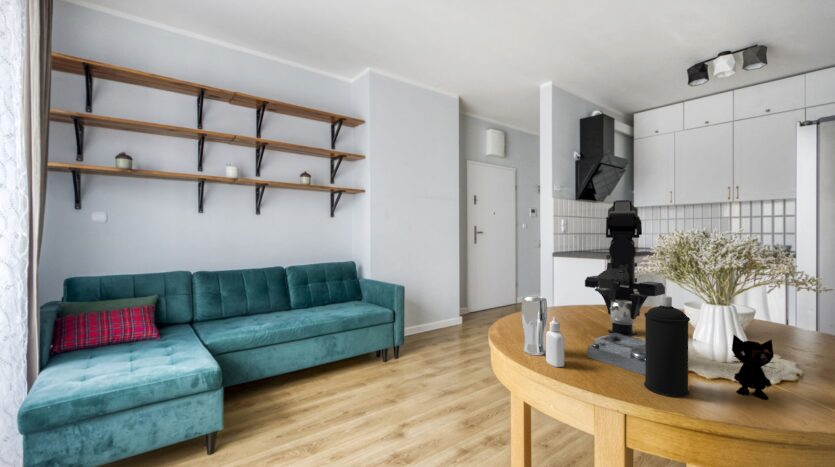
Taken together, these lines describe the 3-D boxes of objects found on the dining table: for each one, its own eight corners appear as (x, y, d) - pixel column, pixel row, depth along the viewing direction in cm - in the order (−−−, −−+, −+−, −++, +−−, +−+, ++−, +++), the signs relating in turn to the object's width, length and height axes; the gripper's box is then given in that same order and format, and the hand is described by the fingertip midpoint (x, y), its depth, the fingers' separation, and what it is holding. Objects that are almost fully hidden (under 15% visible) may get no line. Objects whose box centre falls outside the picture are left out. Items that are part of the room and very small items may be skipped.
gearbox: (616, 347, 109) (616, 332, 109) (678, 364, 95) (678, 346, 95) (587, 357, 101) (587, 340, 101) (650, 377, 88) (650, 357, 88)
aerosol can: (691, 401, 76) (691, 302, 75) (643, 392, 80) (643, 298, 80) (688, 386, 83) (688, 295, 82) (644, 378, 87) (644, 292, 87)
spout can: (617, 318, 105) (617, 298, 105) (638, 322, 100) (638, 302, 100) (600, 323, 101) (600, 302, 100) (621, 327, 96) (621, 306, 96)
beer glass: (544, 348, 109) (544, 296, 109) (550, 356, 102) (550, 301, 102) (519, 347, 110) (519, 296, 110) (524, 355, 103) (523, 301, 103)
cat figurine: (729, 394, 78) (730, 337, 78) (729, 383, 84) (730, 330, 83) (776, 404, 74) (777, 344, 73) (773, 392, 79) (773, 335, 79)
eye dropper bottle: (563, 360, 99) (563, 315, 99) (564, 368, 94) (564, 320, 93) (545, 359, 100) (545, 314, 100) (545, 366, 95) (545, 319, 95)
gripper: (572, 258, 104) (572, 314, 105) (643, 263, 89) (643, 329, 89) (596, 256, 110) (596, 309, 111) (666, 260, 95) (666, 322, 95)
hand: (622, 317), depth 101 cm, fingers closed on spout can, 5 cm apart
